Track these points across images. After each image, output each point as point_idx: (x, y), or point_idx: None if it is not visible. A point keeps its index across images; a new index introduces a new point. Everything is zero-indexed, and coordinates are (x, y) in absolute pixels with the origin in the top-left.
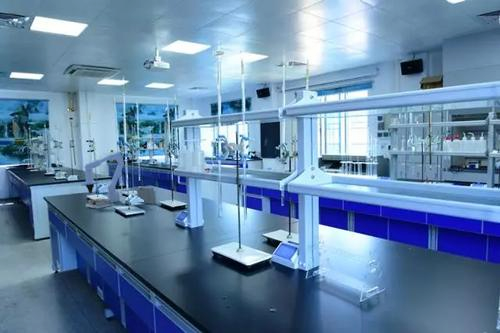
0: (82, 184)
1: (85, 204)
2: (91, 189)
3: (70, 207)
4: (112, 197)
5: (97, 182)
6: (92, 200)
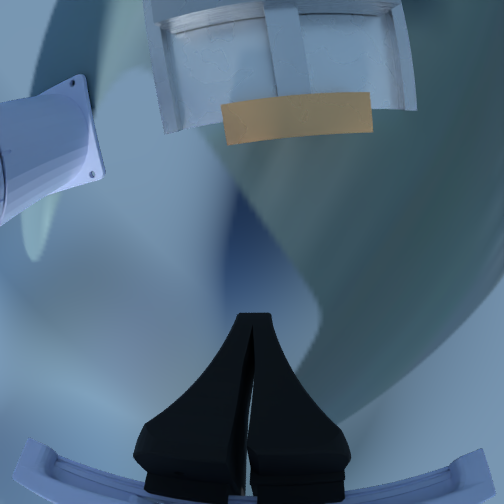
0: (483, 480)
1: (412, 110)
2: (238, 362)
3: (472, 232)
4: (26, 99)
5: (32, 470)
6: (323, 93)
